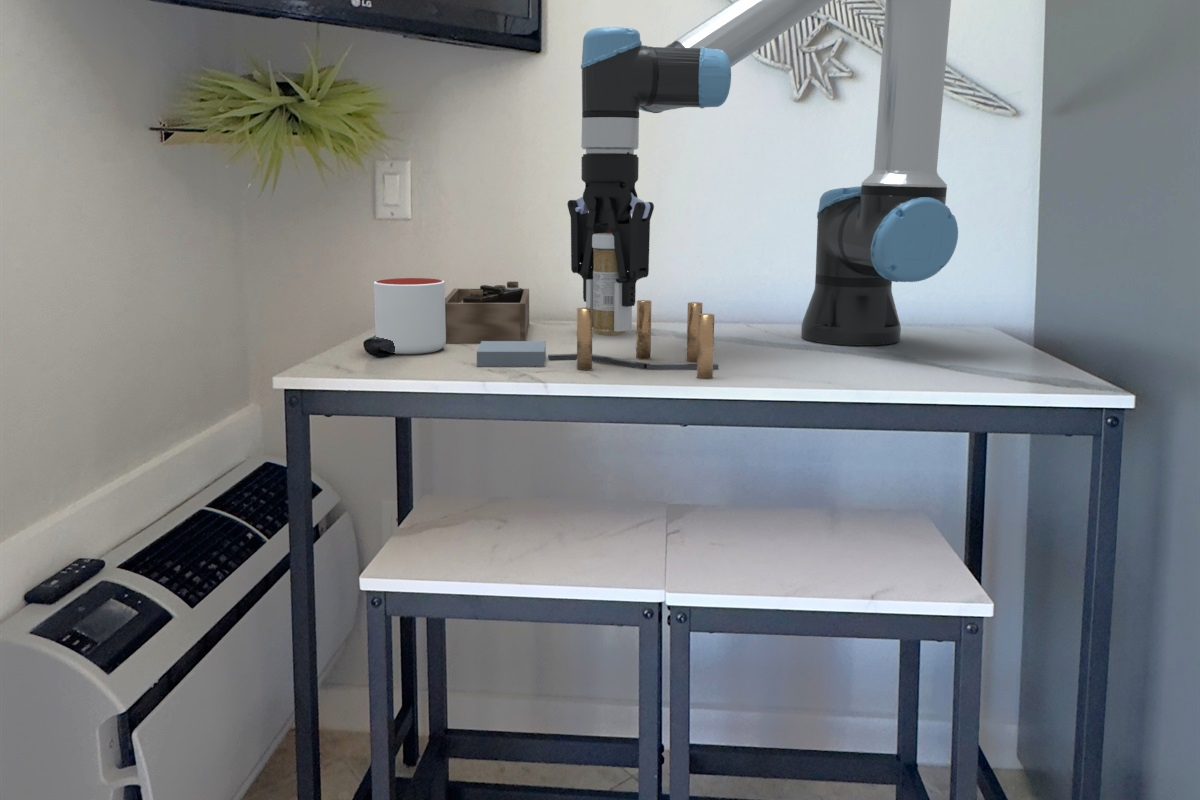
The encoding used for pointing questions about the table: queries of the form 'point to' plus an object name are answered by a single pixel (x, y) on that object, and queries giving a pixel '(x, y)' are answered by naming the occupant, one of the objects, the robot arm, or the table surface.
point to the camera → (495, 294)
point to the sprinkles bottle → (604, 283)
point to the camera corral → (485, 319)
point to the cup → (411, 314)
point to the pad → (511, 353)
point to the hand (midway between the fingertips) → (608, 328)
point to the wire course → (697, 342)
